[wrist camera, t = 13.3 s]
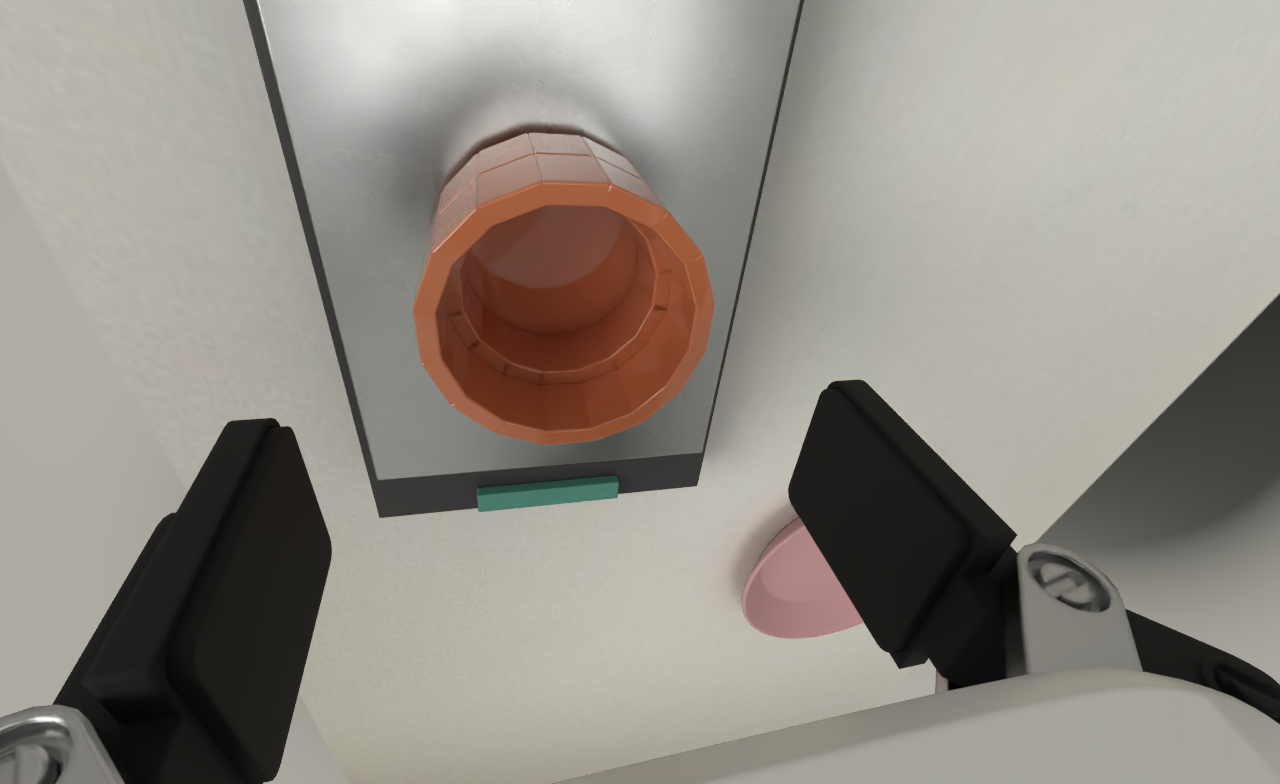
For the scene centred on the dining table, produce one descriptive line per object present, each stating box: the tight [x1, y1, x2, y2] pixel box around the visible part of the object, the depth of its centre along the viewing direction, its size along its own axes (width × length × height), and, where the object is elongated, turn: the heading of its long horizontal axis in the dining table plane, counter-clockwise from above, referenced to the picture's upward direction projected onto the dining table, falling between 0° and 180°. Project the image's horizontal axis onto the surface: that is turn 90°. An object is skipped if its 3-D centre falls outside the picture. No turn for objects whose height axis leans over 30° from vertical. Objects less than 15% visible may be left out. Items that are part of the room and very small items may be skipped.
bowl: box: [412, 133, 714, 445], centre depth 15 cm, size 7×7×5 cm
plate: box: [742, 517, 864, 638], centre depth 36 cm, size 14×14×2 cm
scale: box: [243, 0, 804, 518], centre depth 18 cm, size 14×24×3 cm, turn 175°
